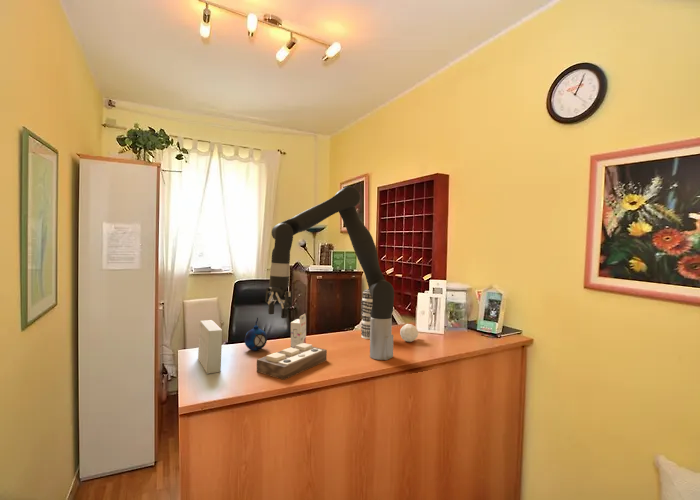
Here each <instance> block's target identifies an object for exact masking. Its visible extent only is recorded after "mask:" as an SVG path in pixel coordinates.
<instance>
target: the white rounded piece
mask: <svg viewBox="0 0 700 500" xmlns="http://www.w3.org/2000/svg"><path fill="white" fill-rule="evenodd" d="M399 334H400V337H401V339H402V340H403V341H405V342H408V343H411V342H414V341H415V340H416V339H417V338H418V336H419V331H418V328H417V326H415V325H414V324H410V323H406V324H404V325H403V326H402V327H401V328H400V329H399Z"/></svg>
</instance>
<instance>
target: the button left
mask: <svg viewBox="0 0 700 500" xmlns="http://www.w3.org/2000/svg"><path fill="white" fill-rule="evenodd" d="M277 352H278V351H277ZM277 352H273V353H270V354H267V355H266V356H265V357H266V360H268V361H271V362H275V363H277V362H279V361H282V360H285V359H286V355H285V354H281V353H277Z"/></svg>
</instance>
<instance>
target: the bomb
mask: <svg viewBox="0 0 700 500" xmlns="http://www.w3.org/2000/svg"><path fill="white" fill-rule="evenodd" d="M258 322H259V317H256V321H255V325H254V326H253V328H252V329H249V330H248V331H247V332H246V334H245V336H244V345H245V346H246V347H247V349H249V350H251V351H253V352H254V351H260V350H262V349H264V348H265V347H266V344H267V342H268V335H267V333H266V331H264V330H263V329H261V328H259V326H258V325H257V323H258Z"/></svg>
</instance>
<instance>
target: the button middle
mask: <svg viewBox="0 0 700 500" xmlns="http://www.w3.org/2000/svg"><path fill="white" fill-rule="evenodd" d="M281 351H282V354H285V355H286V356H289V357H292V356H295V355H298V354H300V350H299V349H295V348H291V346H290V347H288V348H284V349H282V350H281Z"/></svg>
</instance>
